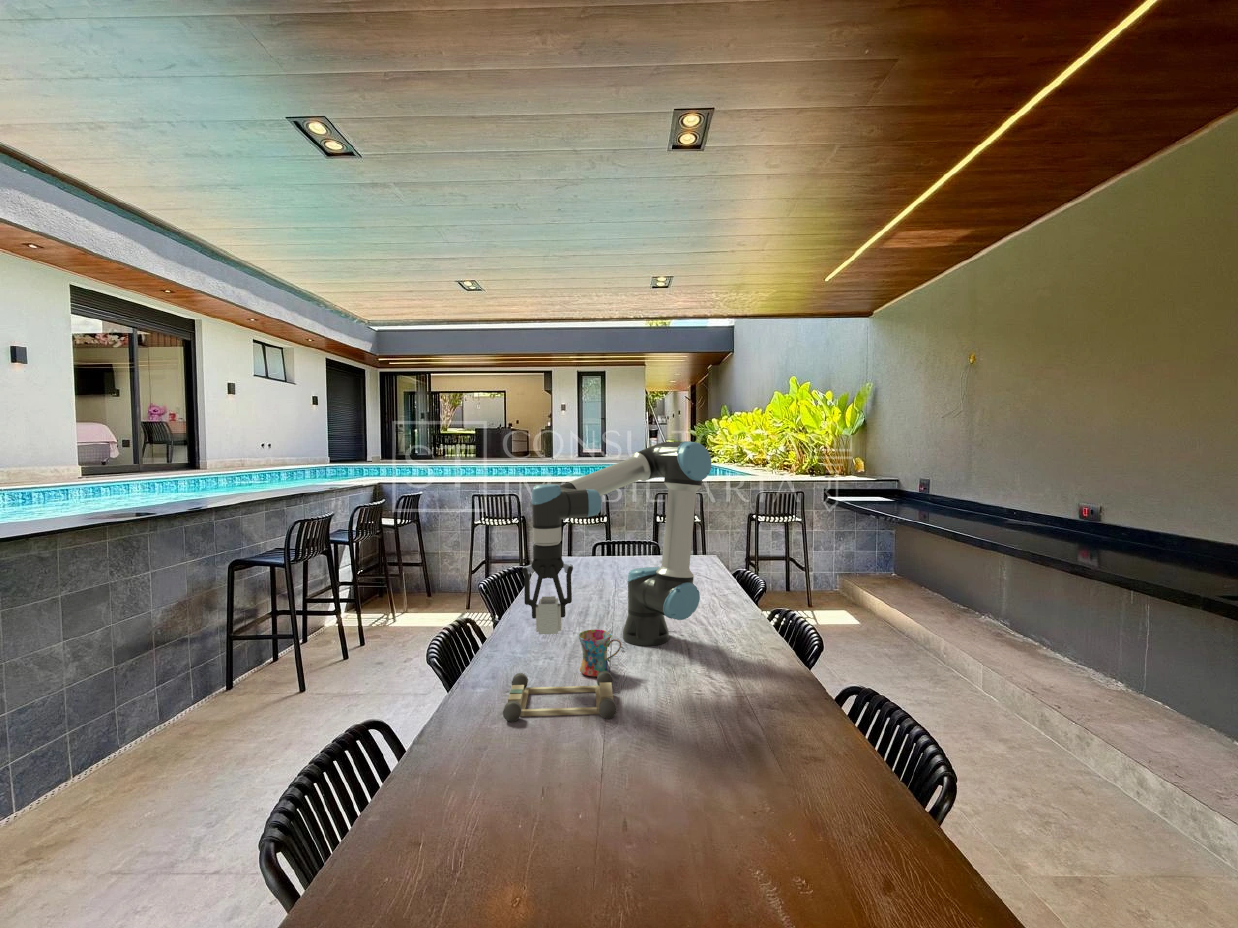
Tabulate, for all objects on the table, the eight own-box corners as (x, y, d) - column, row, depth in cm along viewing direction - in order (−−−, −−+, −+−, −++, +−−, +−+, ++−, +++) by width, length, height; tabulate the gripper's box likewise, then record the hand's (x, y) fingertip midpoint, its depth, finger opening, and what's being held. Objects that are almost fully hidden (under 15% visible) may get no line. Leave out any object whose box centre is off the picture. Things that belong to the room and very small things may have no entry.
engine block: (558, 627, 153) (558, 595, 153) (558, 633, 148) (557, 600, 148) (540, 628, 153) (539, 595, 152) (538, 634, 148) (538, 601, 147)
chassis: (612, 685, 149) (612, 670, 149) (616, 718, 131) (616, 701, 131) (512, 688, 147) (512, 673, 147) (502, 722, 129) (502, 704, 129)
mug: (576, 679, 153) (576, 640, 152) (579, 665, 162) (579, 629, 162) (621, 679, 153) (621, 640, 152) (621, 665, 162) (621, 629, 162)
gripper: (581, 539, 154) (582, 623, 155) (514, 541, 152) (516, 626, 153) (581, 544, 146) (583, 633, 147) (511, 546, 145) (513, 635, 146)
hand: (549, 629), depth 150 cm, fingers closed on engine block, 5 cm apart
